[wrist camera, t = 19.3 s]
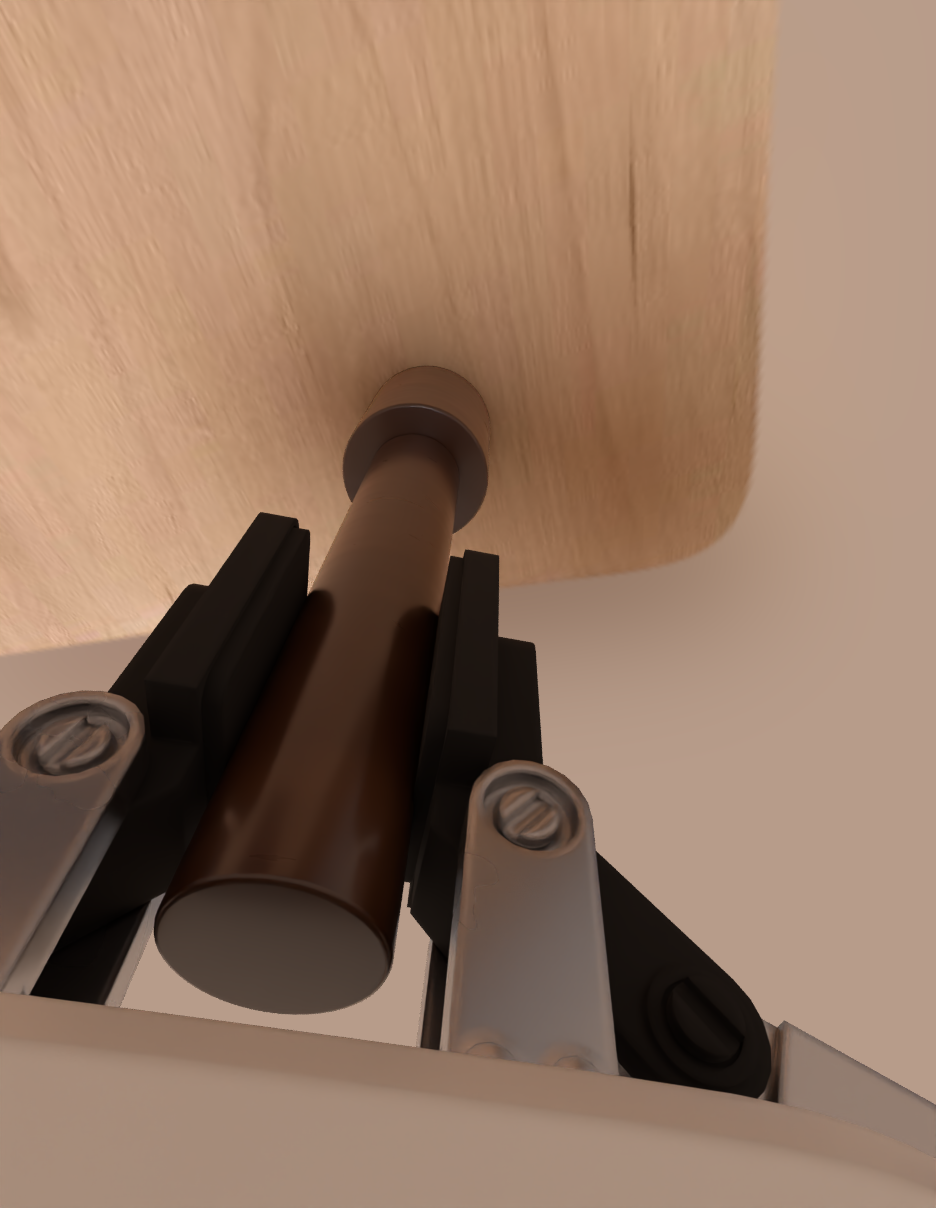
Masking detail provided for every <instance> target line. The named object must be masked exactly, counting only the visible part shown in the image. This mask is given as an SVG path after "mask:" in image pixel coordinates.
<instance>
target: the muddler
mask: <svg viewBox="0 0 936 1208" xmlns="http://www.w3.org/2000/svg"><path fill="white" fill-rule="evenodd" d="M489 445H490V420H489V416H488V411H487V409H486V406H485V404H484V402H483V400H482V398H481V396H480V395H479V393H478V392H477V390H476V389H475V388H474V387H473V386H472V385H471V384H470V383H469V382H468V381H467V380H465V379H464V378H463V377H461V376H460V375H458V374H456V373H454V372H452V371H450V370H447V369H444V368H439V367H434V366H421V367H414V368H410V369H407V370H405V371H402V372H400V373H398V374H396V375H395V376H393V377H392V378H391V379H389V380H388V381H387V382H386V383H385V384H384V385H383V386H382V387H381V389H380V390H379V392H378V393H377V395H376V396H375V398H374V399H373V401H372V403H371V404H370V406H369V408H368V409H367V411H366V412H365V414H364V416H363V417H362V419H361V421H360V422H359V424H358V425H357V427H356V429H355V430H354V432H353V434H352V435H351V437H350V439H349V441H348V443H347V446H346V449H345V453H344V458H343V479H344V484H345V488H346V491H347V494H348V496H349V498H350V500H351V502H352V504H351V506H350V508H349V510H348V512H347V514H346V516H345V518H344V521H343V523H342V525H341V527H340V529H339V531H338V533H337V535H336V537H335V539H334V541H333V544H332V546H331V548H330V550H329V552H328V554H327V556H326V558H325V560H324V562H323V564H322V567H321V569H320V571H319V573H318V575H317V577H316V579H315V581H314V583H313V585H312V587H311V590H310V592H309V594H308V596H307V598H306V600H305V602H304V604H303V606H302V608H301V610H300V613H299V615H298V617H297V619H296V621H295V623H294V625H293V627H292V629H291V631H290V634H289V636H288V638H287V640H286V642H285V644H284V646H283V648H282V650H281V652H280V654H279V657H278V659H277V661H276V663H275V665H274V667H273V669H272V671H271V673H270V675H269V677H268V680H267V682H266V684H265V686H264V688H263V690H262V692H261V694H260V696H259V698H258V700H257V703H256V705H255V707H254V709H253V711H252V713H251V715H250V717H249V719H248V721H247V723H246V726H245V728H244V730H243V732H242V734H241V736H240V738H239V740H238V742H237V744H236V746H235V749H234V751H233V753H232V755H231V757H230V759H229V761H228V763H227V765H226V767H225V769H224V772H223V774H222V776H221V778H220V780H219V782H218V784H217V786H216V788H215V790H214V793H213V795H212V797H211V799H210V801H209V803H208V805H207V807H206V809H205V811H204V813H203V816H202V818H201V820H200V822H199V824H198V826H197V828H196V830H195V832H194V834H193V836H192V839H191V841H190V843H189V845H188V847H187V849H186V851H185V853H184V855H183V857H182V859H181V862H180V864H179V866H178V868H177V870H176V872H175V874H174V876H173V878H172V880H171V882H170V885H169V887H168V889H167V891H166V893H165V895H164V897H163V899H162V901H161V903H160V905H159V908H158V910H157V913H156V916H155V920H154V938H155V943H156V945H157V948H158V950H159V952H160V954H161V955H162V957H163V959H164V960H165V961H166V963H167V964H168V965H169V966H170V968H172V969H173V970H174V971H175V972H176V973H177V974H178V975H179V976H180V977H182V978H183V979H184V980H186V981H187V982H188V983H190V984H191V985H193V986H194V987H196V988H198V989H199V990H201V991H203V992H205V993H207V994H209V995H211V996H213V997H216V998H218V999H220V1000H223V1001H226V1002H229V1003H231V1004H234V1005H238V1006H241V1007H245V1008H249V1009H253V1010H258V1011H263V1012H270V1013H278V1014H295V1015H296V1014H316V1013H317V1014H318V1013H325V1012H331V1011H336V1010H340V1009H343V1008H347V1007H349V1006H352V1005H355V1004H357V1003H359V1002H361V1001H363V1000H365V999H367V998H368V997H370V996H371V995H372V994H374V993H375V992H376V991H377V990H378V989H379V988H380V987H381V986H382V984H383V983H384V982H385V980H386V979H387V977H388V975H389V973H390V971H391V968H392V964H393V959H394V952H395V945H396V937H397V929H398V923H399V916H400V908H401V901H402V894H403V887H404V880H405V872H406V865H407V858H408V851H409V844H410V836H411V829H412V822H413V815H414V804H413V794H414V787H415V780H416V773H417V766H418V758H419V751H420V744H421V737H422V730H423V723H424V716H425V709H426V702H427V695H428V688H429V681H430V674H431V667H432V660H433V653H434V646H435V638H436V631H437V624H438V617H439V612H440V607H441V602H442V597H443V592H444V586H445V581H446V576H447V569H448V562H449V555H450V547H451V540H452V534H454V533H455V532H457V531H459V530H460V529H462V528H463V527H464V526H465V525H466V524H468V523H469V522H470V521H471V519H472V518H473V517H474V516H475V515H476V513H477V512H478V510H479V509H480V507H481V505H482V503H483V501H484V498H485V495H486V491H487V486H488V470H489Z"/></svg>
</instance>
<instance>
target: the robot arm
mask: <svg viewBox="0 0 936 1208" xmlns="http://www.w3.org/2000/svg"><path fill="white" fill-rule="evenodd" d="M309 551H310V531H309V530H306V529H300V528H299V523H298V520H297V519H296V518H291V517H285V516H280V515H274V514H269V513H263V512H260V513H259V514H258V515H257V517H256V518H255V520H254V521H253V523H252V524H251V526H250V527H249V528H248V530H247V531H246V533H245V534H244V536H243V537H242V539H241V540H240V541H239V543H238V544H237V546H236V547H235V549H234V550H233V552H232V553H231V554H230V556H229V557H228V559H227V560H226V562H225V563H224V565H223V566H222V567H221V569H220V570H219V572H218V573H217V575H216V576H215V578H214V579H213V580H212V582H211V583H210V585H209V586H205V585H199V584H190V585H188V586H187V587H186V588H185V589H184V590H183V592H182V593H181V594H180V596H179V597H178V598H177V600H176V601H175V602H174V604H173V605H172V606H171V608H170V609H169V610H168V612H167V613H166V614H165V616H164V617H163V619H162V620H161V621H160V623H159V624H158V625H157V627H156V628H155V629H154V631H153V632H152V633H151V635H150V636H149V637H148V639H147V640H146V641H145V643H144V644H143V645H142V647H141V648H140V649H139V651H138V652H137V653H136V655H135V656H134V658H133V659H132V660H131V662H130V663H129V664H128V666H127V667H126V668H125V670H124V671H123V672H122V674H121V675H120V676H119V678H118V679H117V681H116V682H115V683H114V685H113V686H112V687H111V688H110V690H109V691H108V692H104V691H77V692H70V693H64V694H59V695H56V696H53V697H50V698H47V699H44V700H41V701H39V702H37V703H35V704H33V705H31V706H30V707H28V708H26V709H24V710H23V711H21V712H19V713H18V714H17V715H16V716H15V717H14V718H13V719H11V720H10V721H9V722H8V723H7V724H6V725H5V726H4V727H3V728H2V730H0V1208H936V1105H935V1104H933V1103H931V1102H930V1101H928V1100H926V1099H925V1098H923V1097H921V1096H919V1095H917V1094H915V1093H914V1092H912V1091H910V1090H908V1089H907V1088H905V1087H903V1086H901V1085H899V1084H898V1083H896V1082H894V1081H892V1080H890V1079H888V1078H887V1077H885V1076H883V1075H881V1074H880V1073H878V1072H876V1071H874V1070H872V1069H871V1068H869V1067H867V1066H865V1065H863V1064H861V1063H860V1062H858V1061H856V1060H854V1059H853V1058H851V1057H849V1056H847V1055H845V1054H844V1053H842V1052H840V1051H838V1050H836V1049H835V1048H833V1047H831V1046H829V1045H827V1044H826V1043H824V1042H822V1041H820V1040H818V1039H816V1038H815V1037H813V1036H811V1035H809V1034H808V1033H806V1032H804V1031H802V1030H800V1029H798V1028H797V1027H795V1026H793V1025H791V1024H790V1023H788V1022H786V1021H783V1022H782V1023H781V1024H780V1025H779V1027H775V1026H773V1025H772V1024H770V1023H768V1022H766V1021H764V1020H763V1019H761V1017H760V1015H759V1013H758V1012H757V1010H756V1008H755V1006H754V1005H753V1003H752V1001H751V1000H750V998H749V997H748V996H747V995H746V994H745V992H744V991H743V990H742V989H741V988H740V987H739V986H738V985H737V983H736V982H735V981H734V980H733V979H732V978H731V977H730V976H729V975H728V974H727V973H726V972H725V971H724V970H722V969H721V968H720V967H719V966H718V965H717V964H716V963H715V962H714V961H713V960H712V959H711V958H710V957H709V956H708V955H706V954H705V953H704V952H703V951H702V950H701V949H700V948H699V947H698V946H697V945H696V944H695V943H694V942H693V941H692V940H691V939H689V938H688V937H687V936H686V935H685V934H684V933H683V932H682V931H681V930H680V929H679V928H678V927H677V926H676V925H675V924H673V923H672V922H671V921H670V920H669V919H668V918H667V917H666V916H665V915H664V914H663V913H662V912H661V911H660V910H659V909H657V908H656V907H655V906H654V905H653V904H652V903H651V902H650V901H649V900H648V899H647V898H646V897H644V895H642V894H641V893H640V892H639V891H638V890H637V889H636V888H635V887H634V886H633V885H632V884H631V883H630V882H629V881H628V880H627V879H625V878H624V877H623V876H622V875H621V874H620V873H619V872H618V871H617V870H616V869H615V868H614V867H613V866H612V865H611V864H609V863H608V862H607V861H606V860H605V859H604V858H603V857H602V856H601V855H600V854H599V853H598V852H597V851H596V849H595V838H594V829H593V819H592V815H591V812H590V809H589V805H588V802H587V801H586V799H585V797H584V796H583V795H582V793H581V791H580V790H579V788H578V787H577V786H576V785H575V784H573V783H572V782H571V781H570V780H569V779H568V778H567V777H566V776H565V775H563V774H561V773H559V772H558V771H556V770H554V769H552V768H551V767H549V766H546V765H543V759H542V758H543V757H542V742H541V727H540V712H539V696H538V681H537V680H538V679H537V664H536V651H535V645H534V644H533V643H531V642H526V641H520V640H514V639H508V638H503V637H498V614H499V611H498V610H499V607H498V606H499V556H498V555H494V554H488V553H483V552H477V551H472V550H466V549H465V552H464V556H463V558H460V557H455V556H450V561H449V566H448V571H447V576H446V581H445V586H444V592H443V597H442V602H441V607H440V612H439V617H438V624H437V631H436V638H435V646H434V653H433V660H432V667H431V674H430V681H429V688H428V695H427V702H426V709H425V716H424V723H423V730H422V737H421V744H420V751H419V758H418V766H417V773H416V780H415V787H414V794H413V804H414V815H413V822H412V829H411V836H410V844H409V851H408V858H407V865H406V872H405V880H404V882H409V883H410V889H409V897H408V904H407V907H410V908H411V911H410V913H411V915H412V916H413V917H414V918H415V920H416V921H417V922H418V923H419V925H420V926H421V927H422V928H423V930H424V931H425V932H426V933H427V935H428V936H429V937H430V942H429V946H428V954H427V962H426V970H425V978H424V987H423V994H422V1002H421V1010H420V1018H419V1027H418V1034H417V1042H416V1047H411V1046H403V1045H396V1044H389V1043H382V1042H374V1041H367V1040H360V1039H353V1038H346V1037H338V1036H330V1035H323V1034H316V1033H308V1032H300V1031H293V1030H285V1029H278V1028H271V1027H263V1026H255V1025H248V1024H241V1023H233V1022H226V1021H218V1020H210V1019H203V1018H196V1017H188V1016H180V1015H173V1014H166V1013H158V1012H151V1011H143V1010H135V1009H128V1008H120V1006H121V1003H122V1001H123V999H124V996H125V994H126V991H127V989H128V987H129V984H130V982H131V980H132V977H133V975H134V973H135V970H136V968H137V966H138V963H139V961H140V959H141V956H142V954H143V952H144V949H145V947H146V945H147V942H148V940H149V937H150V935H151V933H152V930H153V928H154V920H155V916H156V913H157V910H158V908H159V905H160V903H161V901H162V899H163V897H164V895H165V893H166V891H167V889H168V887H169V885H170V882H171V880H172V878H173V876H174V874H175V872H176V870H177V868H178V866H179V864H180V862H181V859H182V857H183V855H184V853H185V851H186V849H187V847H188V845H189V843H190V841H191V839H192V836H193V834H194V832H195V830H196V828H197V826H198V824H199V822H200V820H201V818H202V816H203V813H204V811H205V809H206V807H207V805H208V803H209V801H210V799H211V797H212V795H213V793H214V790H215V788H216V786H217V784H218V782H219V780H220V778H221V776H222V774H223V772H224V769H225V767H226V765H227V763H228V761H229V759H230V757H231V755H232V753H233V751H234V749H235V746H236V744H237V742H238V740H239V738H240V736H241V734H242V732H243V730H244V728H245V726H246V723H247V721H248V719H249V717H250V715H251V713H252V711H253V709H254V707H255V705H256V703H257V700H258V698H259V696H260V694H261V692H262V690H263V688H264V686H265V684H266V682H267V680H268V677H269V675H270V673H271V671H272V669H273V667H274V665H275V663H276V661H277V659H278V657H279V654H280V652H281V650H282V648H283V646H284V644H285V642H286V640H287V638H288V636H289V634H290V631H291V629H292V627H293V625H294V623H295V621H296V619H297V617H298V615H299V613H300V610H301V608H302V606H303V604H304V602H305V600H306V598H307V588H308V570H309Z"/></svg>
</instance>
